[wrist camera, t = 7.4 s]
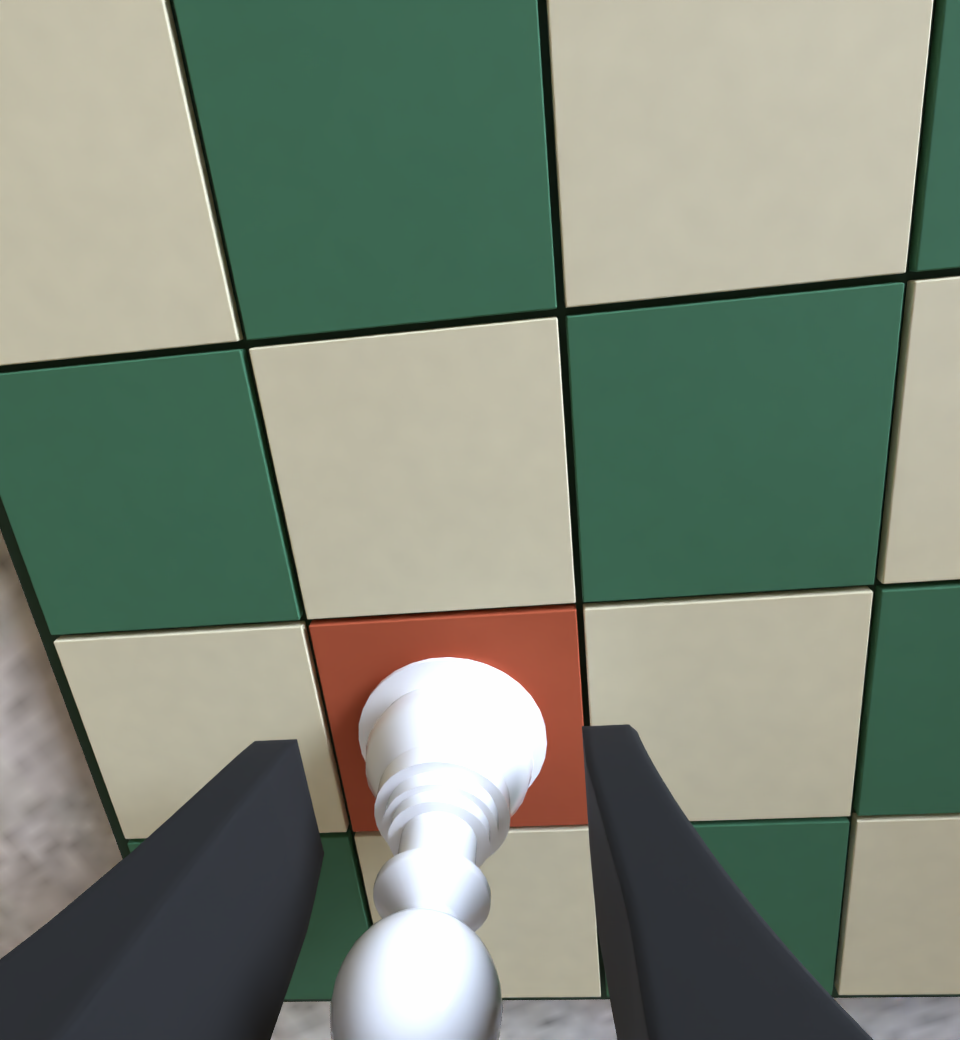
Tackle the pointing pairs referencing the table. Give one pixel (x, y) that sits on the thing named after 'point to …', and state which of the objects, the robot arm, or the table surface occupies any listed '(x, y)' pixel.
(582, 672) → the chess mat
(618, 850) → the robot arm
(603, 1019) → the table surface
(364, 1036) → the chess pawn
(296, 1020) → the table surface
